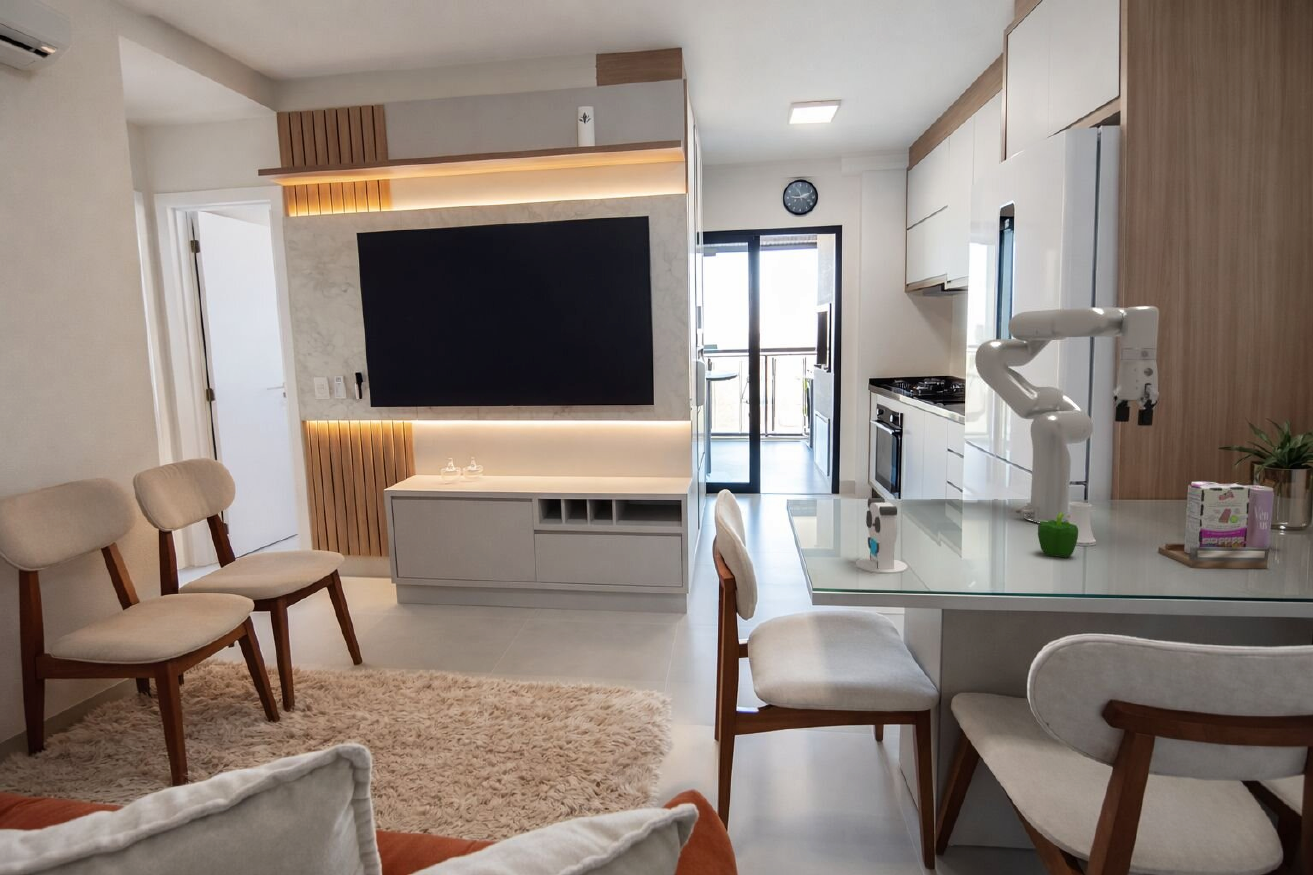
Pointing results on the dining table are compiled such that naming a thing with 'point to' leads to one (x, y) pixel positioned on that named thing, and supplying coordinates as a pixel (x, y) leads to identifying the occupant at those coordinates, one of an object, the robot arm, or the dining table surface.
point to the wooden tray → (1217, 556)
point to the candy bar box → (1216, 516)
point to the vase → (1082, 522)
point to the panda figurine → (881, 538)
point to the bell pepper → (1057, 537)
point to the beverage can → (1259, 516)
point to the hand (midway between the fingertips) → (1133, 423)
